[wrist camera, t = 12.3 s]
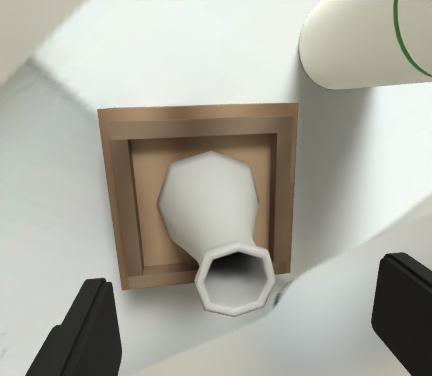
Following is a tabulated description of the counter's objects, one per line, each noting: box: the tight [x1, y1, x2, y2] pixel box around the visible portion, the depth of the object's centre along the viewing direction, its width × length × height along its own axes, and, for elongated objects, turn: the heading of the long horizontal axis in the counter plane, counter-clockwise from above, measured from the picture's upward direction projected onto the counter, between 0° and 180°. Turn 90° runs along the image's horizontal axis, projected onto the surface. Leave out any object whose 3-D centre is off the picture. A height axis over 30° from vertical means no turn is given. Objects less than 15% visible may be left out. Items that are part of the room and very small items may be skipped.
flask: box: [156, 151, 276, 317], centre depth 16 cm, size 7×7×10 cm
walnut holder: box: [97, 103, 298, 290], centre depth 23 cm, size 13×13×6 cm
